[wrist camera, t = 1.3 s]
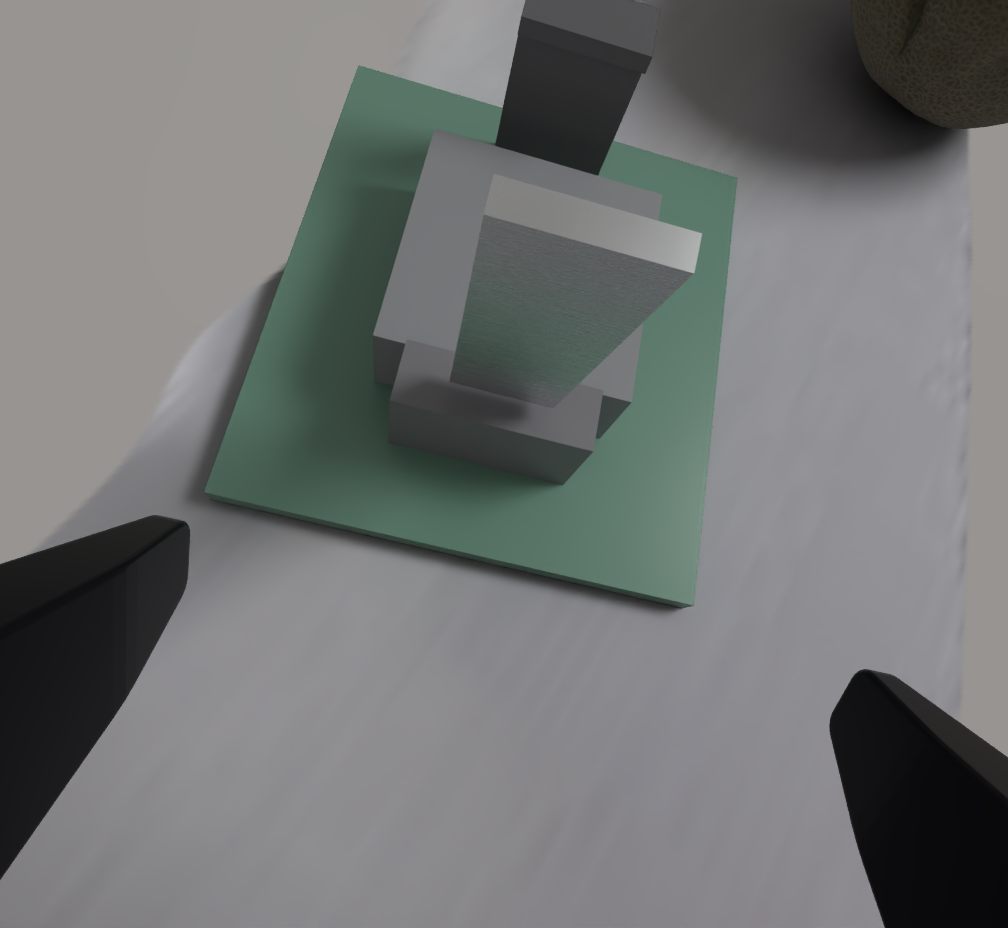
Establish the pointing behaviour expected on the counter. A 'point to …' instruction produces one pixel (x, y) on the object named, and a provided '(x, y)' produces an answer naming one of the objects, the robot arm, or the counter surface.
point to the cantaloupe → (938, 57)
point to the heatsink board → (443, 500)
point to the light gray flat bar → (560, 289)
